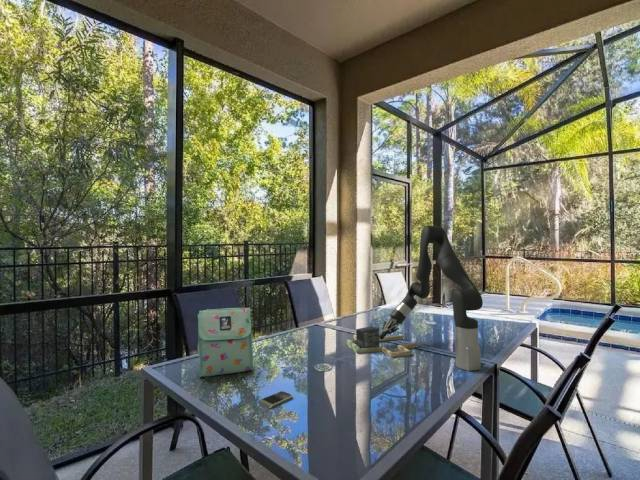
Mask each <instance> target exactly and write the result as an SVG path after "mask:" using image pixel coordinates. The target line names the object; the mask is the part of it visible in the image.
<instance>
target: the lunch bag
mask: <svg viewBox="0 0 640 480" xmlns="http://www.w3.org/2000/svg"><path fill="white" fill-rule="evenodd" d="M197 323H198V324H197V325H198V327H197V339H198V341H197V342H198V343H197V353H198V356H199V375H198V376H199V378H202V377H205V378H206V377H214V376H220V375H226V374H227V375H228V374H235V373H237V374H238V373H243V372H249V371H252V370H254V363H253V362H254V360H253V335H252V319H251V308H250V307H227V308H215V309H214V308H213V309H211V308H207V309H203V310H199V312H198V314H197Z"/></svg>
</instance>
